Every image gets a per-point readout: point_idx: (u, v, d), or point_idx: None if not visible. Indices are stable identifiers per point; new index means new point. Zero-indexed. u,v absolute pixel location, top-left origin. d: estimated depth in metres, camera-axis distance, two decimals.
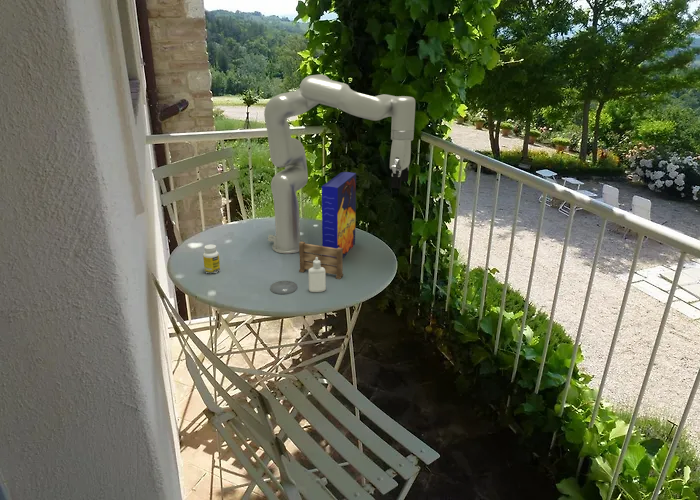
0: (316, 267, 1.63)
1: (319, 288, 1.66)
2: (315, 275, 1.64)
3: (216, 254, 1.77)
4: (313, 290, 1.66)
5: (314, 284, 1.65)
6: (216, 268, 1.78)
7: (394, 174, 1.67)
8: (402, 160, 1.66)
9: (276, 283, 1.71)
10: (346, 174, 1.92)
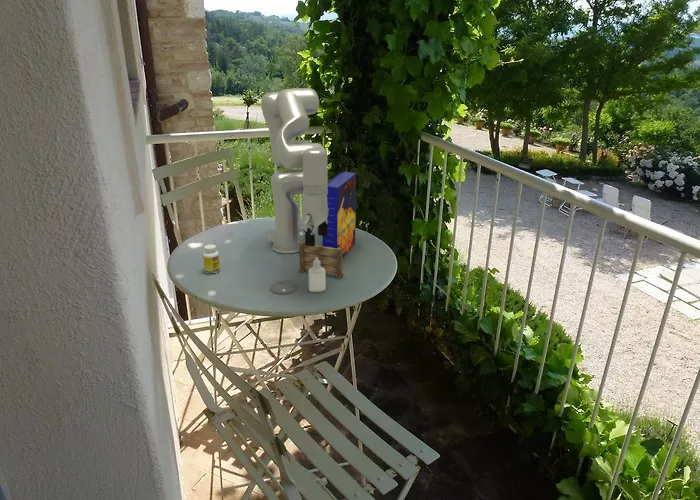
0: (316, 267, 1.63)
1: (319, 288, 1.66)
2: (315, 275, 1.64)
3: (216, 254, 1.77)
4: (313, 290, 1.66)
5: (314, 284, 1.65)
6: (216, 268, 1.78)
7: (306, 232, 1.53)
8: (314, 217, 1.52)
9: (276, 283, 1.71)
10: (346, 174, 1.92)
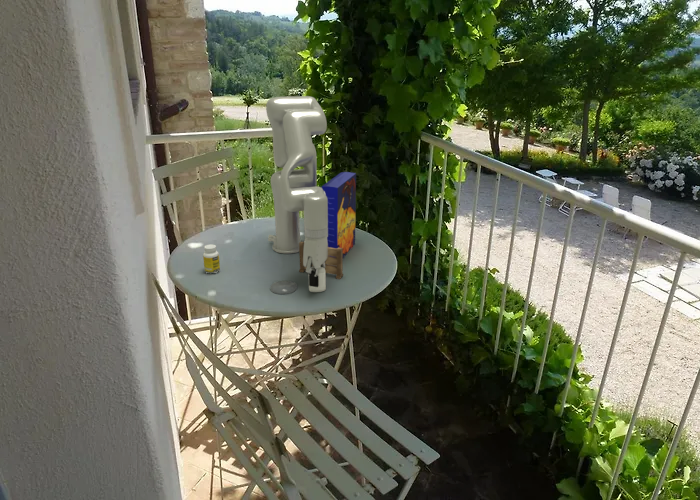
0: None
1: (319, 288, 1.66)
2: None
3: (216, 254, 1.77)
4: (313, 290, 1.66)
5: None
6: (216, 268, 1.78)
7: (310, 274, 1.61)
8: (315, 259, 1.58)
9: (276, 283, 1.71)
10: (346, 174, 1.92)
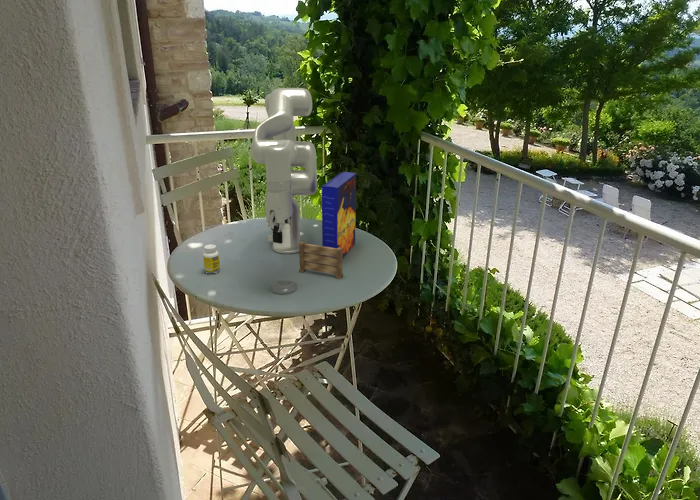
0: None
1: (284, 245, 1.61)
2: None
3: (216, 254, 1.77)
4: (277, 247, 1.61)
5: None
6: (216, 268, 1.78)
7: (273, 229, 1.56)
8: (277, 213, 1.53)
9: (276, 283, 1.71)
10: (346, 174, 1.92)
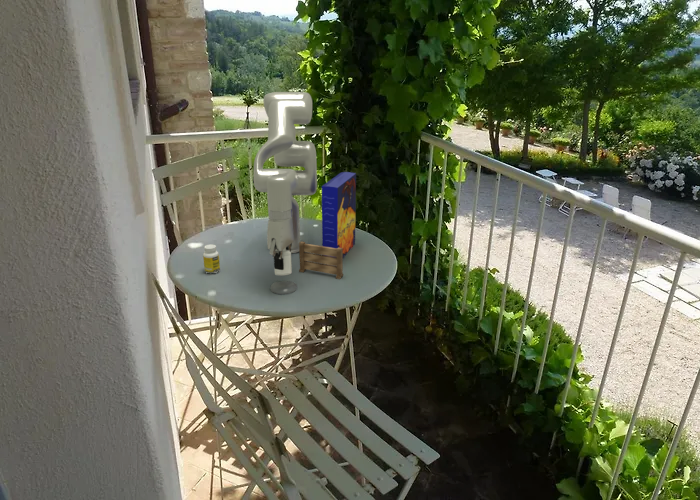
0: None
1: (285, 271, 1.65)
2: None
3: (216, 254, 1.77)
4: (279, 273, 1.65)
5: None
6: (216, 268, 1.78)
7: (274, 256, 1.60)
8: (279, 241, 1.57)
9: (276, 283, 1.71)
10: (346, 174, 1.92)
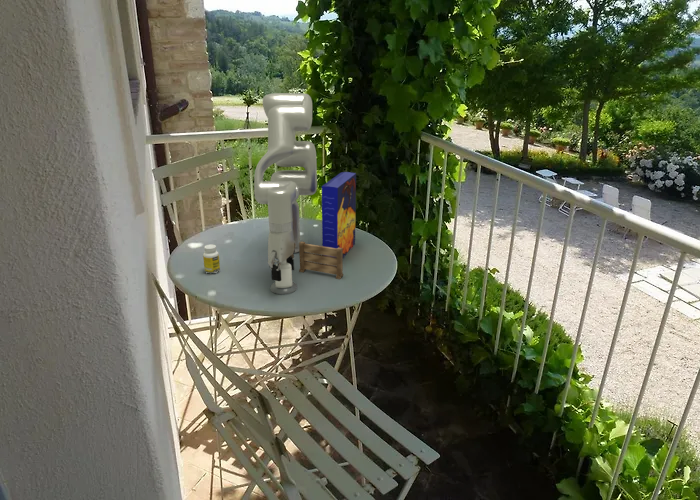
0: (282, 263, 1.65)
1: (285, 284, 1.67)
2: None
3: (216, 254, 1.77)
4: (279, 286, 1.67)
5: None
6: (216, 268, 1.78)
7: (272, 268, 1.59)
8: (279, 253, 1.58)
9: None
10: (346, 174, 1.92)
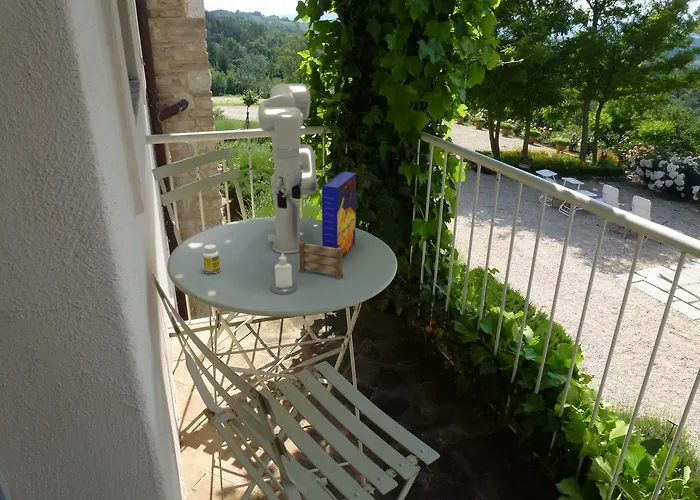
0: (282, 263, 1.64)
1: (285, 284, 1.67)
2: (281, 272, 1.65)
3: (216, 254, 1.77)
4: (279, 286, 1.67)
5: (280, 280, 1.66)
6: (216, 268, 1.78)
7: (277, 194, 1.58)
8: (286, 180, 1.57)
9: None
10: (346, 174, 1.92)
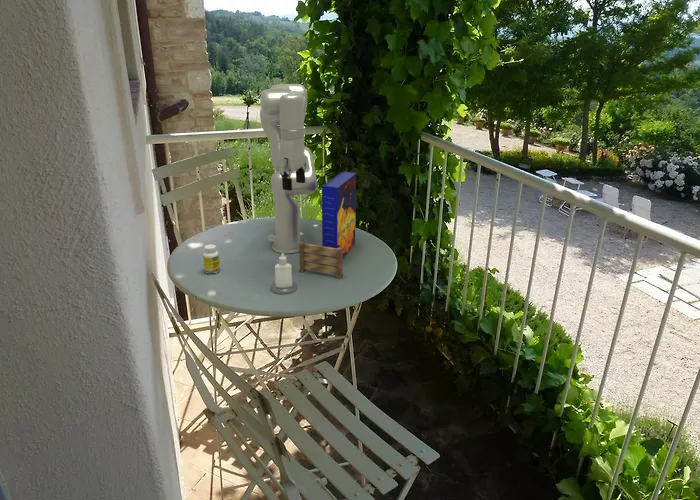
0: (282, 263, 1.64)
1: (285, 284, 1.67)
2: (281, 272, 1.65)
3: (216, 254, 1.77)
4: (279, 286, 1.67)
5: (280, 280, 1.66)
6: (216, 268, 1.78)
7: (283, 175, 1.59)
8: (291, 161, 1.59)
9: None
10: (346, 174, 1.92)
